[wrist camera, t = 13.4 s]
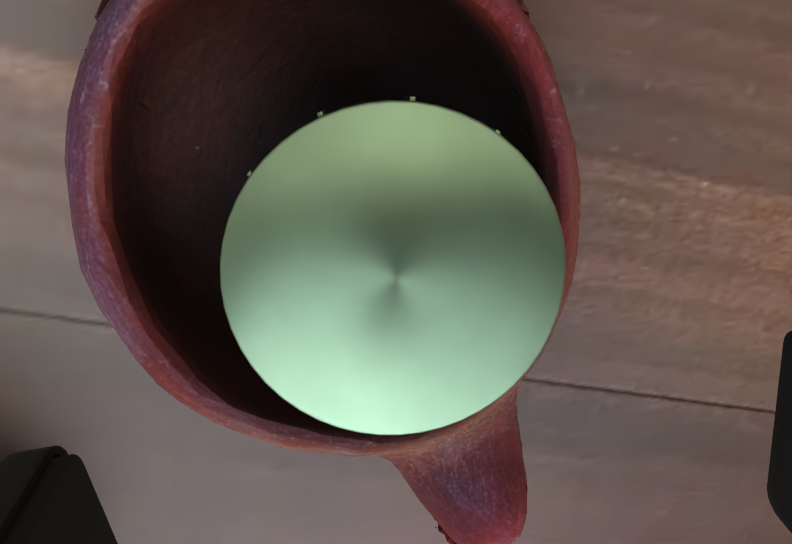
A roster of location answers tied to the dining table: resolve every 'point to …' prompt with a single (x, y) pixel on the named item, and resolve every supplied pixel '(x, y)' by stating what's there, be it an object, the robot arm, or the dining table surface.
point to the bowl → (244, 149)
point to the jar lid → (392, 267)
